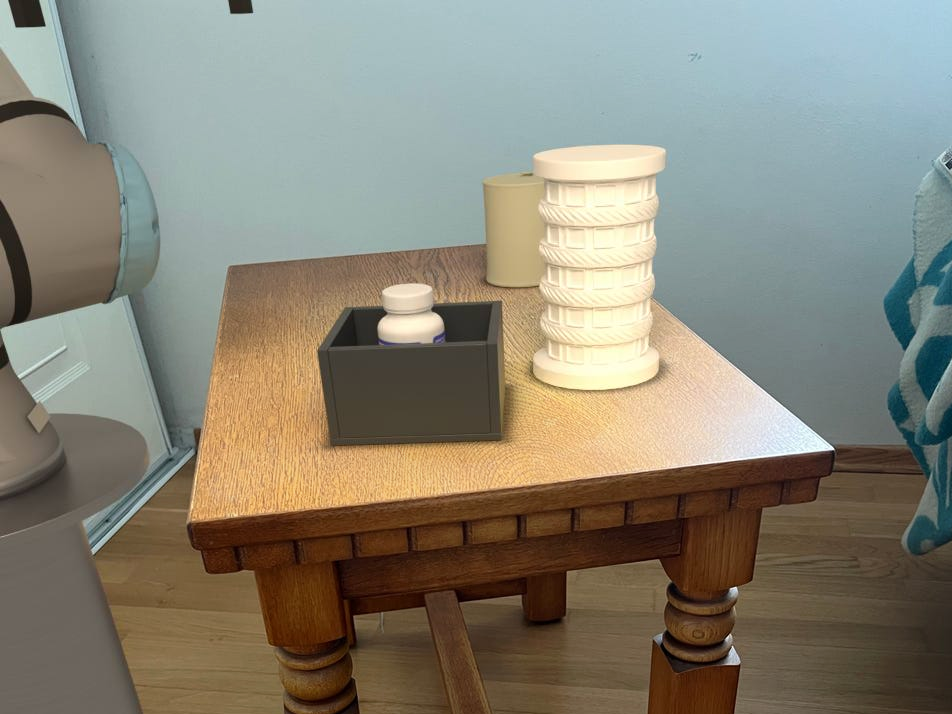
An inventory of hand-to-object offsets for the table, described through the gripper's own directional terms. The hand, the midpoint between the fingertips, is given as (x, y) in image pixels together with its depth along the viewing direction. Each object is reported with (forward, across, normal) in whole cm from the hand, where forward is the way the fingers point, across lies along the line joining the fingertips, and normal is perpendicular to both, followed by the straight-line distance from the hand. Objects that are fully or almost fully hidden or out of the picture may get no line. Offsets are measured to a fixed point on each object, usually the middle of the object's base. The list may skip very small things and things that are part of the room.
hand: (136, 21), depth 59 cm
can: (+29, -23, -55) cm, 66 cm away
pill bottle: (+28, -15, -7) cm, 33 cm away
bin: (+29, -15, -7) cm, 33 cm away
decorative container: (+29, -30, -18) cm, 45 cm away
